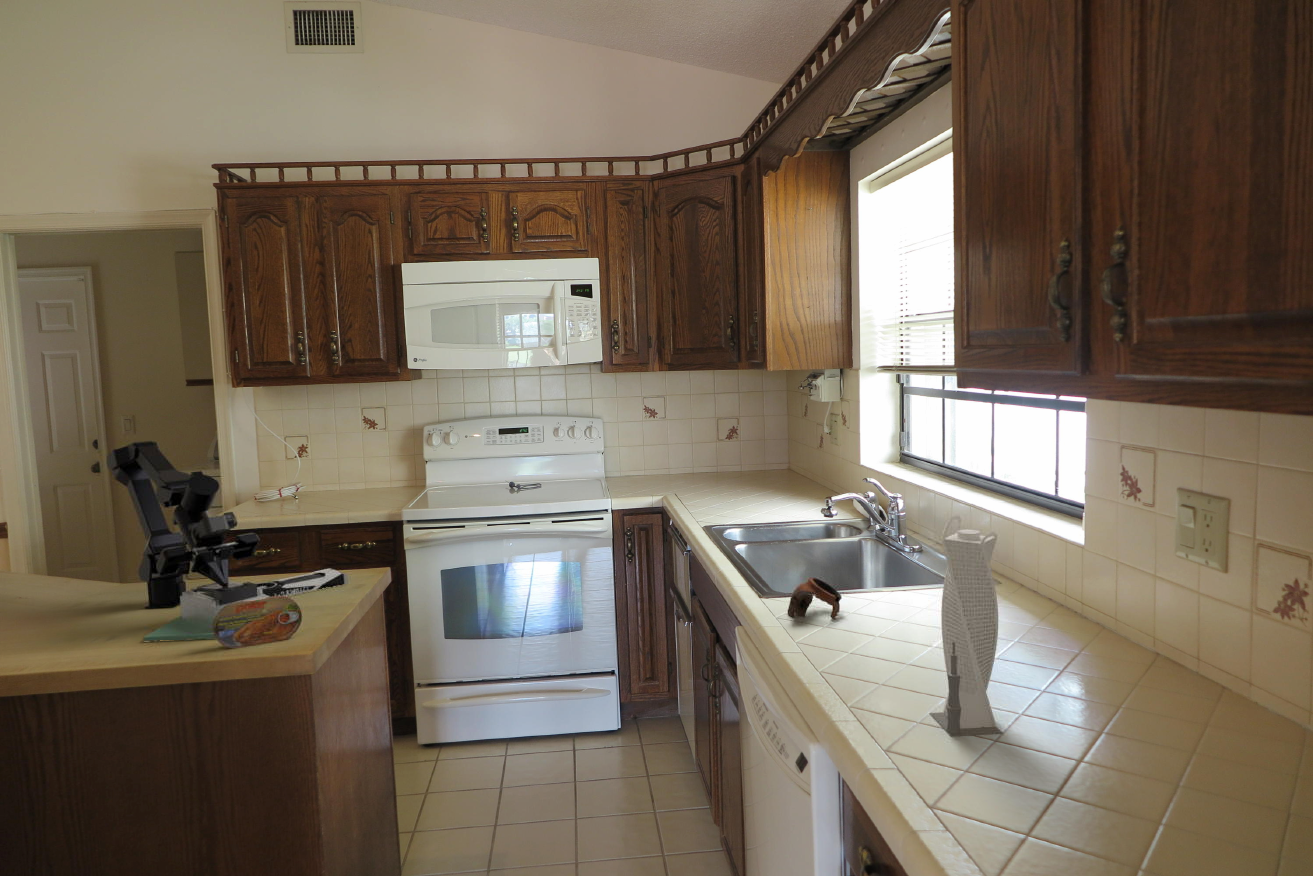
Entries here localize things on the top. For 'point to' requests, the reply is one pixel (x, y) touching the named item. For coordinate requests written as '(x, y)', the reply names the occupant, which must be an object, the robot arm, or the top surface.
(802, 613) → the brown curved loop
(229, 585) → the grey rectangular slab
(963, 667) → the skyscraper
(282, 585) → the graphics card
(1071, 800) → the top surface
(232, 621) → the tin
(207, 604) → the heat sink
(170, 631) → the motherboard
